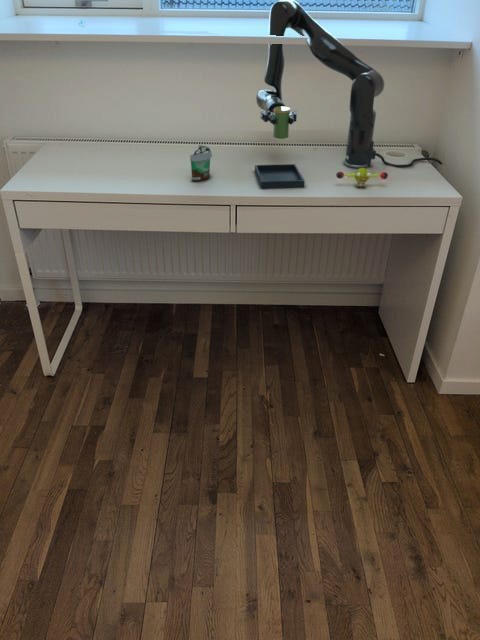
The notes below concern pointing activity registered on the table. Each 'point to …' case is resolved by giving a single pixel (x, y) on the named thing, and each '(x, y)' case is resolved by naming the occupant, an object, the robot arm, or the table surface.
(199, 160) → the food container
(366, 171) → the toy figure
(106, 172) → the table surface
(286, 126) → the green cup
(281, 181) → the dark grey shallow tray
